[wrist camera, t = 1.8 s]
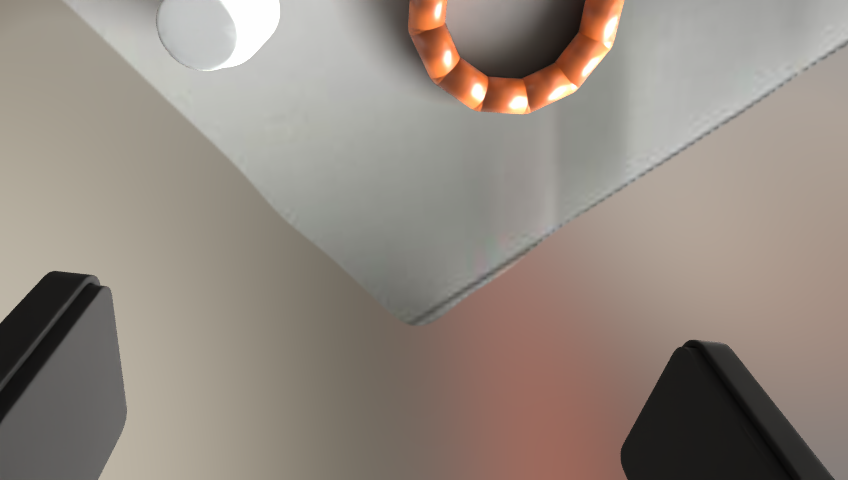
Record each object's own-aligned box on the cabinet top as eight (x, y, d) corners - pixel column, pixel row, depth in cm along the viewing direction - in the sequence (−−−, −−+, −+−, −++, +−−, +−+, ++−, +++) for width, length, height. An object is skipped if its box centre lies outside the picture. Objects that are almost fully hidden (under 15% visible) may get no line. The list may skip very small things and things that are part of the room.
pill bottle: (188, -40, 29) (128, -24, 22) (273, -43, 29) (238, -29, 22) (208, 47, 31) (159, 85, 24) (286, 44, 31) (258, 80, 24)
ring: (641, -108, 28) (657, -109, 26) (588, 112, 34) (599, 123, 32) (416, -130, 27) (418, -132, 25) (403, 101, 33) (403, 111, 31)
